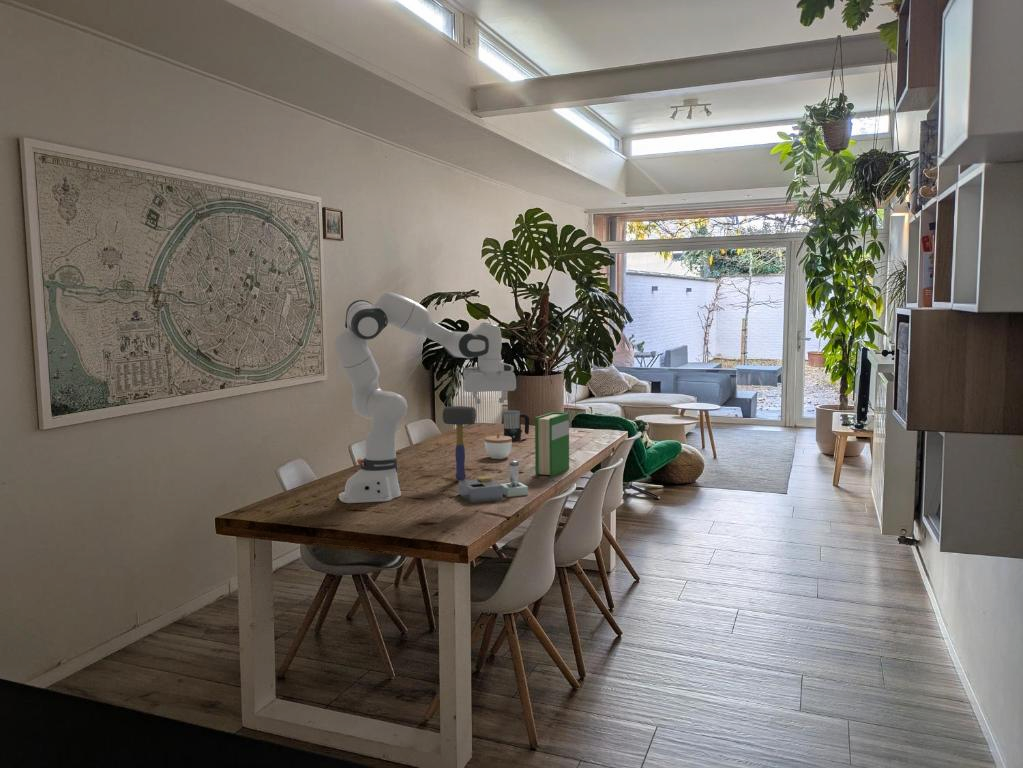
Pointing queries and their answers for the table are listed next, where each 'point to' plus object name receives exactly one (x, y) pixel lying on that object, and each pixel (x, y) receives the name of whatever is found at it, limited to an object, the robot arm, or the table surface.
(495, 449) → the lidded bowl
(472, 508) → the table surface
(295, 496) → the table surface
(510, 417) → the milk frother
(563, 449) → the hardback book
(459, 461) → the rubber mallet
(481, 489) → the socket block
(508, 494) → the pale green square frame
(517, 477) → the metal cylindrical peg
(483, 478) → the gold rectangular block
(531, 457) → the table surface
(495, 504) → the table surface
